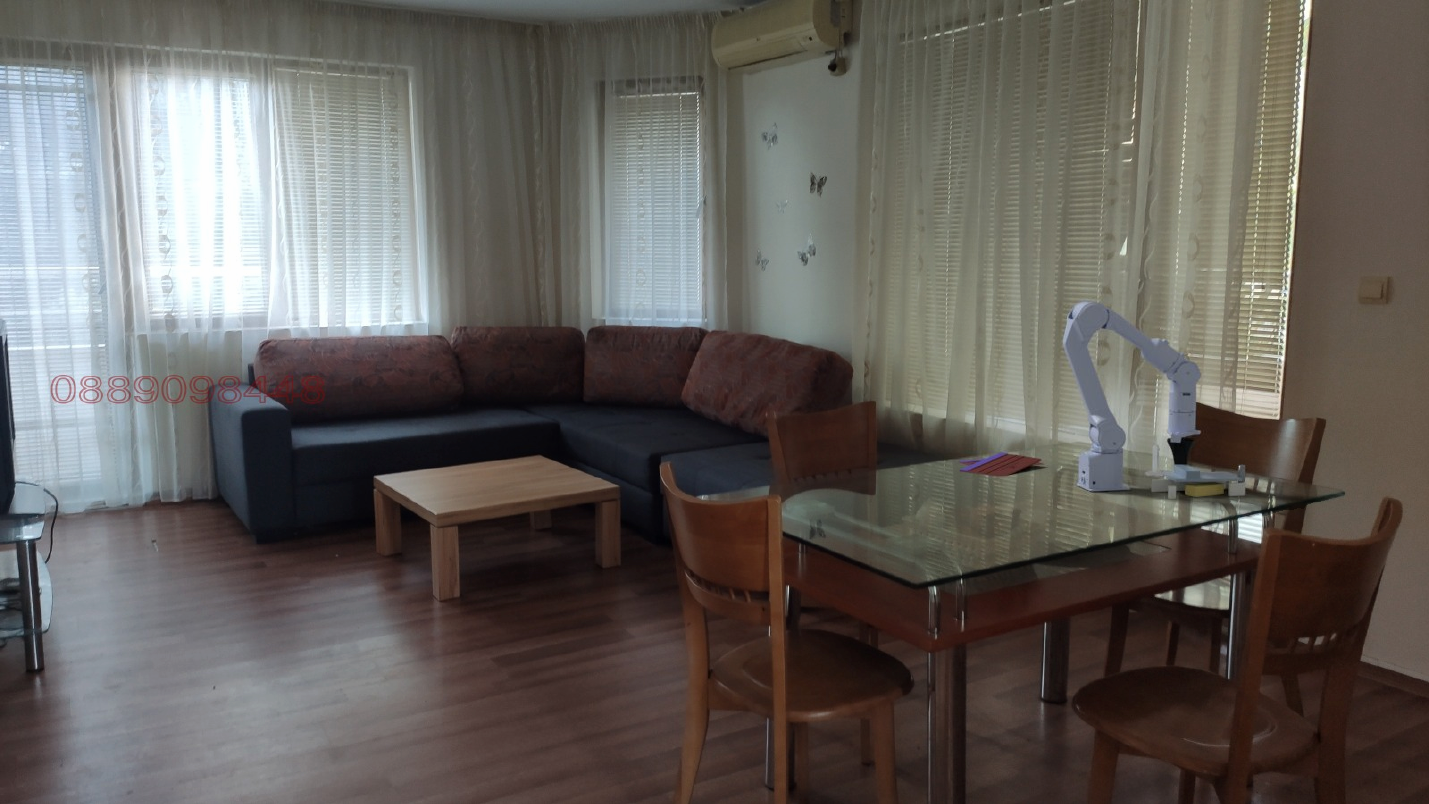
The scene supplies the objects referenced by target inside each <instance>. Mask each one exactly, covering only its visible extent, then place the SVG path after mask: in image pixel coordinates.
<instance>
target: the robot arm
mask: <svg viewBox="0 0 1429 804" xmlns="http://www.w3.org/2000/svg"><path fill="white" fill-rule="evenodd" d="M1100 329H1104V330H1108V331H1113V333H1116V334H1117V335H1119V336H1121V338H1123V339H1124V340H1126V341H1127V342H1129V343H1130V344H1132V345H1133V346H1134V347H1136V348H1137V349H1139V350H1140V354H1141V358H1142V359H1144V360H1145V362H1147V363H1149V364H1150V365H1151V366H1153V367H1154V368H1155V369H1156V370H1158V371H1160V372H1161V373H1162V374H1165V375H1166V378H1167V379H1168V380H1169V391H1168V421H1167V422H1168V423H1167V424H1168V425H1167V426H1168V427H1167V429H1166V431H1167V432H1166V433H1167V434H1168V435H1169V436H1170V437H1168V438H1167V439H1166V442H1167V444H1168V447H1169V448H1170V451H1171V454H1172V458H1173V459H1172V460H1173V466H1174V465H1188V460H1189V457H1190V454H1191V451H1192V447H1193V446H1194V444H1195V442H1196V438H1194V437H1191V436H1193V435H1194V436H1195V435H1200V434H1202V430H1198V429H1196V417H1197V416H1196V412H1197V383H1198V382H1199V381H1200V379H1201V377H1202V372H1201V371H1200V368H1199V366H1198V365H1197V363H1196V362H1194V361H1192V360H1188V359H1186V358H1185V357H1186V354H1185V353H1184V352H1179V351H1177V350H1176V349H1174V348H1173V347H1172V346H1170V341H1168V340H1167V339H1163V338H1162V339H1160V337H1156V338H1155V337H1154V338H1149V337H1148V336H1147V335H1146V334H1145V333H1143V332H1142V331H1140V330H1139V328H1137V327H1135V325H1134V324H1132V323H1130V322H1129V321H1128V320H1127V319H1125V318H1124V317H1123V316H1121V315H1120V314H1119V313H1117V312H1115V311H1114V310H1112V309H1111V308H1109V307H1105V305H1103V303H1101V302H1096V301H1089V300H1088V301H1087V300H1083V301H1079V302H1077V303H1076V304H1074V306H1073V307H1072V308H1071V310H1070V311H1069V313H1068V314H1067V317H1066V325H1065V330H1064V335H1063V337H1062V338H1063V339H1062V347H1063V349H1064V352H1065V355H1066V358H1067V361H1068V363H1069V366H1070V369H1071V371H1072V374H1073V377H1074V379H1075V382H1076V385H1077V388H1078V391H1079V393H1080V396H1081V398H1082V402H1083V404H1084V408H1085V410H1086V412H1087V421H1088V425H1089V429H1088V437H1089V439H1090V441H1091V442H1092V444H1091V445H1090V449H1089V450H1088V451H1083V452H1081V453H1080V454H1079V456H1078V475H1077V476H1078V482H1077V483H1076V484H1077V485H1076V486H1078V487H1080V488H1082V489H1085V490H1087V491H1089V492H1108V491H1109V492H1113V491H1130V490H1131V488H1130V487H1129V486H1126V485H1124V481H1123V479H1124V471H1123V470H1124V448H1123V447H1124V446H1125V444H1126V440H1127V434H1126V432H1125V430H1124V429H1123V428H1122V427H1121V426H1120V424H1118V422H1117V419H1116V418H1115V416H1114V414H1113V413H1112V411H1111V409H1110V406H1109V404H1108V400H1107V398H1106V395H1105V392H1104V390H1103V387H1102V384H1101V381H1100V379H1099V377H1098V373H1097V371H1096V368H1095V365H1094V362H1093V360H1092V356H1091V354H1090V351H1089V348H1088V345H1089V343H1090V341H1091V340H1092V338H1093V336H1094V335H1095V334H1096V333H1097V332H1098V331H1099V330H1100ZM1189 436H1190V437H1189Z"/></svg>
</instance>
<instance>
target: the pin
mask: <svg viewBox="0 0 1429 804" xmlns="http://www.w3.org/2000/svg"><path fill="white" fill-rule="evenodd" d="M1237 476H1238V477H1240V478H1242V481H1237V483H1245V484H1246V482H1245V480H1246V477H1245V476H1246V464H1239V465H1238V466H1237Z"/></svg>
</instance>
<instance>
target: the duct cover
mask: <svg viewBox="0 0 1429 804" xmlns="http://www.w3.org/2000/svg"><path fill="white" fill-rule="evenodd" d="M1163 475H1164V476H1163V477H1165V478H1167V479H1171V480H1173V481H1175V482H1208V481H1226V482H1238V481H1242V478H1240V477H1238V475H1236V474H1234V473H1233V472H1230V471H1201V470H1200V469H1197V468H1195V467H1193V466H1190V465H1189V464H1187V465H1174V464H1173V471H1172V472H1163Z"/></svg>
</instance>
